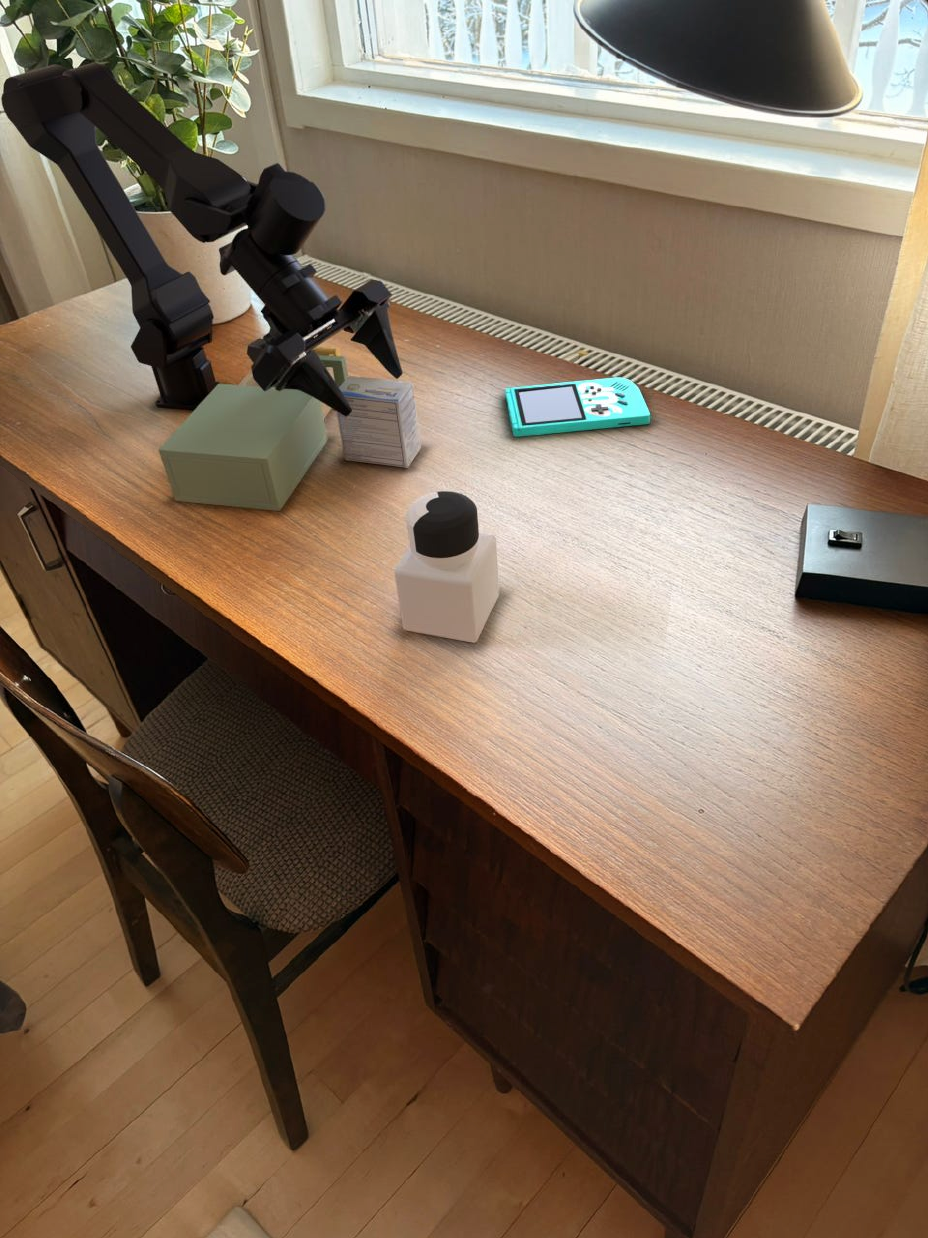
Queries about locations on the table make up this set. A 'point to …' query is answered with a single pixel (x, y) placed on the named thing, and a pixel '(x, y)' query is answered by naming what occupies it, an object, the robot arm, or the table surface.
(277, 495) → the cabinet
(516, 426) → the handheld game console
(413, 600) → the medicine bottle
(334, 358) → the drawer
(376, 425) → the medicine box
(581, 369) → the table surface
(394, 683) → the table surface
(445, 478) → the table surface
